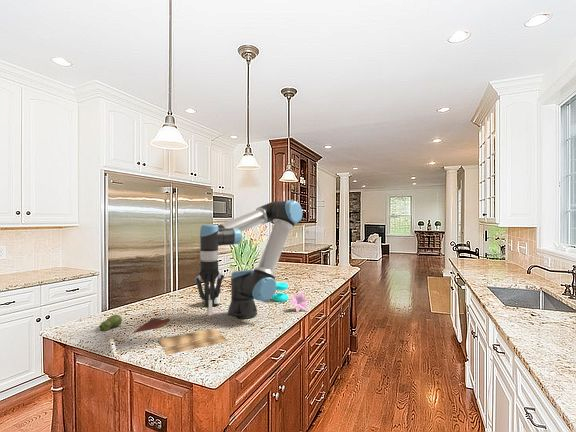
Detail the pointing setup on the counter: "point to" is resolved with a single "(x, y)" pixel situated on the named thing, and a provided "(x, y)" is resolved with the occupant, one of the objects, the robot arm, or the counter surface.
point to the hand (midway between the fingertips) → (209, 314)
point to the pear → (111, 322)
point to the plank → (188, 337)
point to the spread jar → (217, 299)
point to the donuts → (280, 296)
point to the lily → (299, 301)
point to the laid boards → (194, 344)
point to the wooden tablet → (152, 324)
